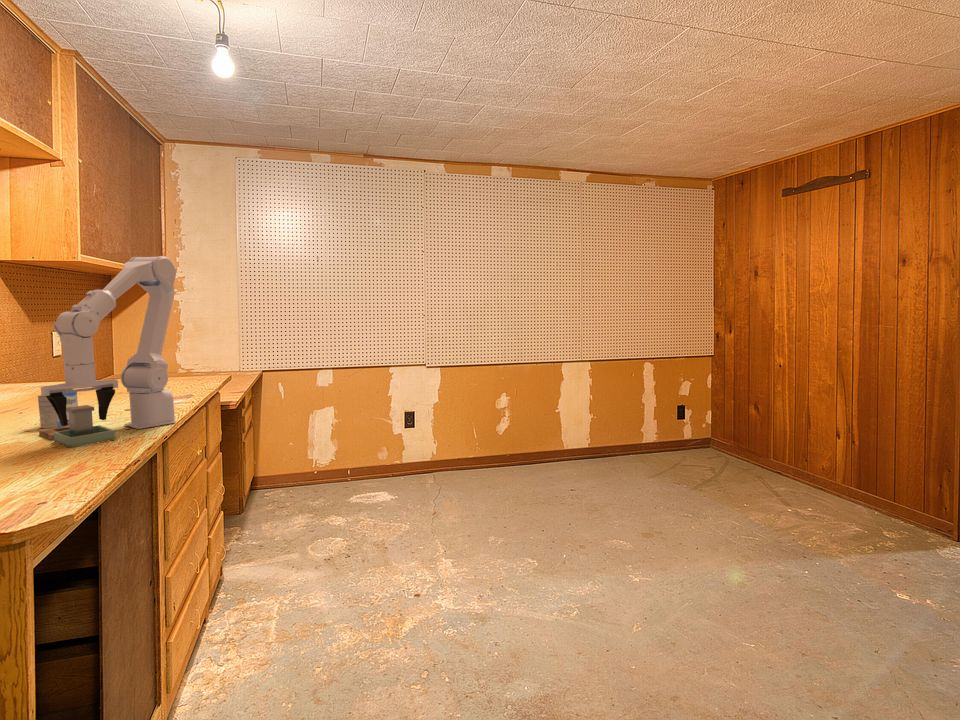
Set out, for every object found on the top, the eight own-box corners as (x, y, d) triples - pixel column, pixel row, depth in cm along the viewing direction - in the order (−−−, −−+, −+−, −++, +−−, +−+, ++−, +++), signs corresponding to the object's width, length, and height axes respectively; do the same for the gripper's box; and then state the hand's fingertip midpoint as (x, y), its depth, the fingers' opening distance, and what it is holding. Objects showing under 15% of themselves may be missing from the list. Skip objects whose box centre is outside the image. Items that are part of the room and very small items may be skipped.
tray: (99, 434, 135) (99, 425, 135) (115, 439, 129) (114, 430, 129) (54, 441, 127) (53, 432, 127) (68, 447, 122) (67, 438, 122)
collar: (82, 428, 141) (82, 423, 141) (96, 433, 136) (96, 428, 136) (39, 434, 134) (38, 429, 134) (51, 440, 129) (51, 435, 128)
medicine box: (57, 428, 141) (54, 395, 140) (39, 428, 141) (37, 395, 140) (80, 422, 148) (77, 390, 148) (63, 422, 148) (61, 390, 148)
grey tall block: (89, 435, 131) (86, 405, 131) (96, 437, 129) (94, 407, 128) (67, 438, 128) (65, 407, 127) (74, 441, 125) (72, 409, 125)
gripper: (108, 360, 135) (112, 414, 136) (34, 365, 123) (39, 425, 125) (120, 362, 130) (124, 418, 132) (45, 368, 119) (50, 430, 120)
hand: (83, 422), depth 128 cm, fingers open, 7 cm apart
